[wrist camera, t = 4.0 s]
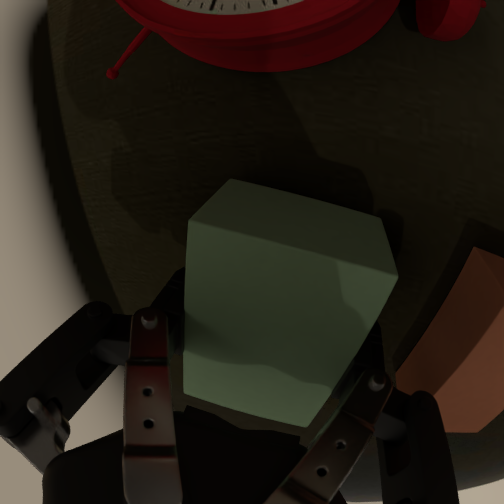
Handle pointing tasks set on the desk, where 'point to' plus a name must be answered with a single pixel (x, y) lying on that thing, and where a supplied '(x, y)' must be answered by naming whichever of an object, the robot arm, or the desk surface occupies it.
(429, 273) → the desk surface
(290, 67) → the alarm clock
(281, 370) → the pad sage
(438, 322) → the pad terracotta
